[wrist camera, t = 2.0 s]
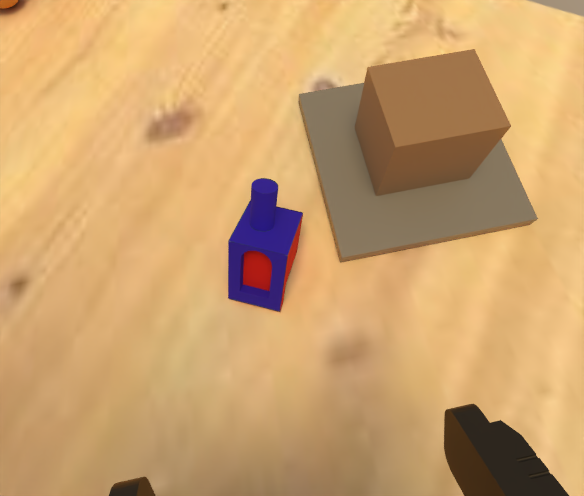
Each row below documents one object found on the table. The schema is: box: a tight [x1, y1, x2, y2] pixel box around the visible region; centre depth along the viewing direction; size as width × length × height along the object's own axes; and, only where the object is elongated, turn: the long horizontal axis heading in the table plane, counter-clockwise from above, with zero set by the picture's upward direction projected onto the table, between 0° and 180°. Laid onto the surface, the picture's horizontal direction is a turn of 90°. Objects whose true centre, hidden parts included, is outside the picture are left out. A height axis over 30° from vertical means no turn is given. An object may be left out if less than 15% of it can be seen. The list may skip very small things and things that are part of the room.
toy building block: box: [228, 178, 303, 312], centre depth 26 cm, size 4×4×8 cm
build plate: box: [299, 49, 538, 262], centre depth 28 cm, size 14×14×7 cm
